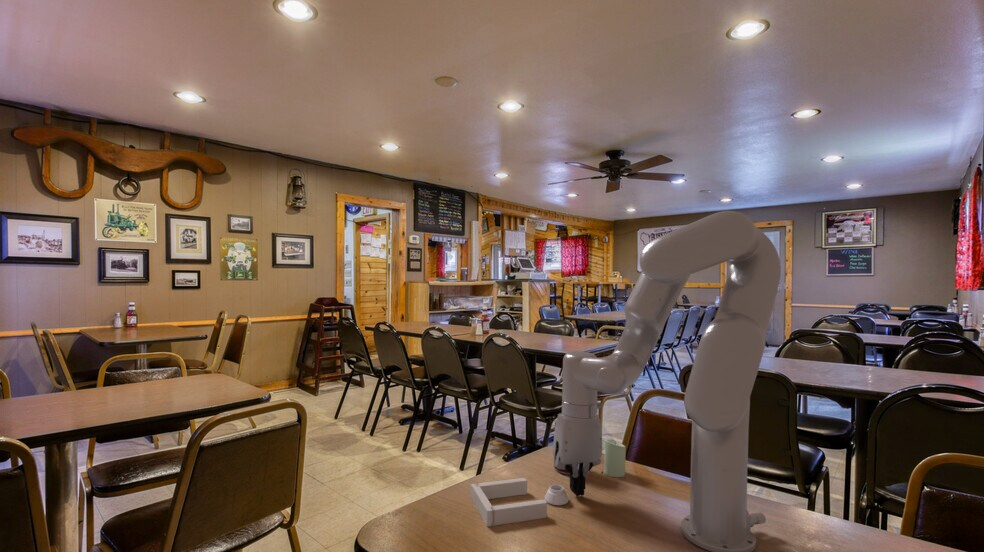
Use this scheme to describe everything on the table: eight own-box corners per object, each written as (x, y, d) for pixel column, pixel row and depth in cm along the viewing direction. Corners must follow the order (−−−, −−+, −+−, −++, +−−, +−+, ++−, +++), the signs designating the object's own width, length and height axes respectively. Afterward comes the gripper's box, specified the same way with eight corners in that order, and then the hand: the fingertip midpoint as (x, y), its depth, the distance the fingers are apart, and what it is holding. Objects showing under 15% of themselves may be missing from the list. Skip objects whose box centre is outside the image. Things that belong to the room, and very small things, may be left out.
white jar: (572, 501, 101) (553, 493, 104) (572, 487, 101) (553, 480, 104) (560, 509, 97) (540, 501, 100) (560, 495, 97) (540, 487, 100)
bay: (524, 491, 105) (524, 477, 105) (546, 517, 93) (547, 502, 93) (470, 498, 101) (470, 484, 101) (486, 526, 90) (487, 511, 90)
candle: (616, 468, 118) (617, 435, 118) (629, 476, 114) (630, 442, 114) (600, 470, 117) (600, 437, 117) (612, 479, 112) (612, 444, 112)
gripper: (600, 402, 108) (598, 482, 108) (540, 406, 104) (539, 489, 104) (618, 411, 101) (616, 496, 101) (555, 416, 96) (553, 505, 96)
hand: (577, 492), depth 102 cm, fingers closed
